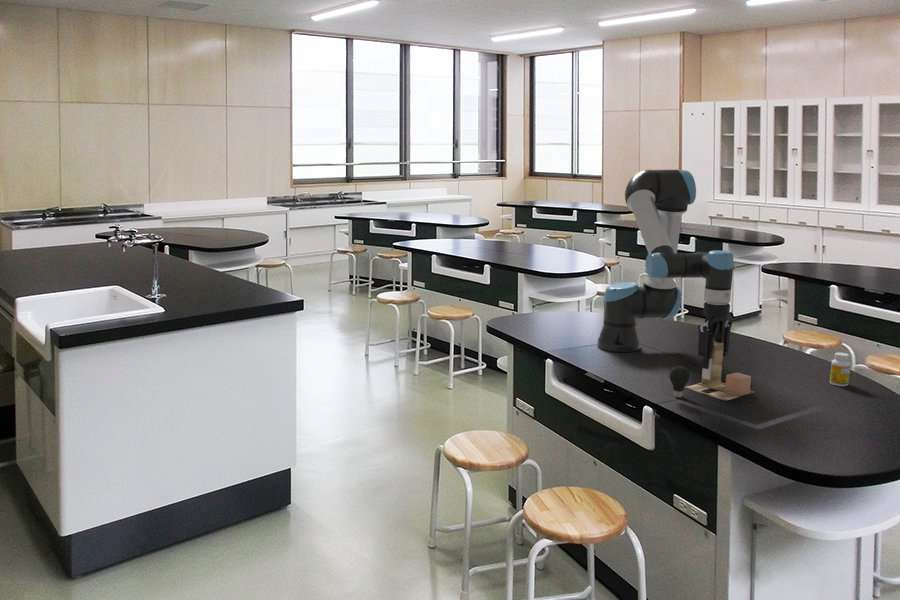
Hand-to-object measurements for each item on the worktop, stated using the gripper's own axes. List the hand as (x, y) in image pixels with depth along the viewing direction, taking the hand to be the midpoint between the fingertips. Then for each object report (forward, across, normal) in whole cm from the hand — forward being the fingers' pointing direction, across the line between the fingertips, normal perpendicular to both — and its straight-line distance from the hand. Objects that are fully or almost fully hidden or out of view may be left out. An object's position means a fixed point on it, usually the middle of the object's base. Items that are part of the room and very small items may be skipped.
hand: (711, 377), depth 251 cm
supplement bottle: (+3, +37, -20) cm, 42 cm away
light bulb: (+3, -18, -2) cm, 18 cm away
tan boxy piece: (+3, 0, -5) cm, 6 cm away
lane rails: (+3, -3, -5) cm, 7 cm away
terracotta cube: (+2, 0, -10) cm, 10 cm away
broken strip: (+3, -6, -5) cm, 9 cm away
